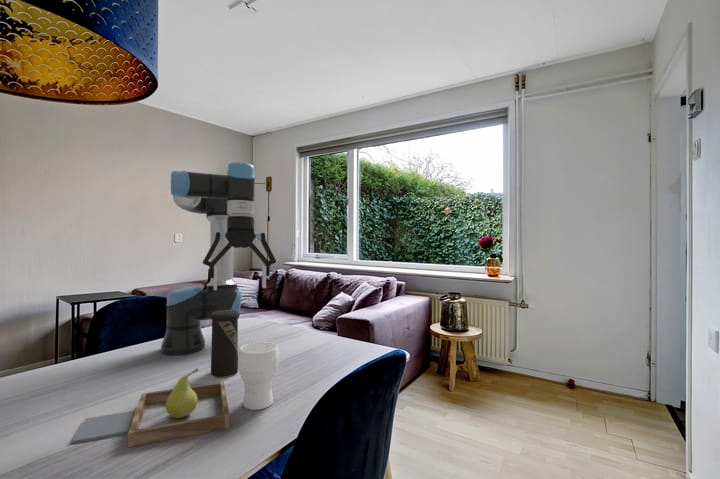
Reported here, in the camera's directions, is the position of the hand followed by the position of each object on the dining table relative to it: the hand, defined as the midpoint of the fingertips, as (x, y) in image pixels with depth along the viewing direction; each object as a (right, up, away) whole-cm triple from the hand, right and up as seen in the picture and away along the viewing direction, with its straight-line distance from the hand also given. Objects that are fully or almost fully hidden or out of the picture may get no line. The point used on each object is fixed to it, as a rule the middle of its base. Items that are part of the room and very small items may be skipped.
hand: (240, 288), depth 104 cm
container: (-9, -29, +11) cm, 32 cm away
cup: (+8, -30, -9) cm, 32 cm away
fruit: (-9, -29, -17) cm, 35 cm away
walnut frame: (-9, -29, -17) cm, 35 cm away
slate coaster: (-24, -29, -22) cm, 43 cm away
